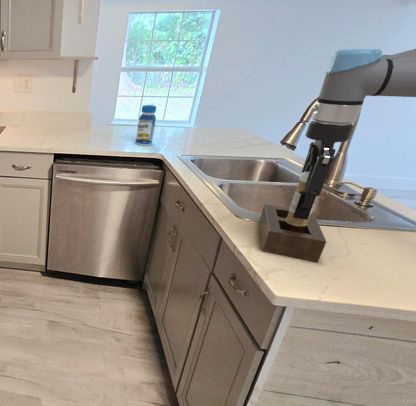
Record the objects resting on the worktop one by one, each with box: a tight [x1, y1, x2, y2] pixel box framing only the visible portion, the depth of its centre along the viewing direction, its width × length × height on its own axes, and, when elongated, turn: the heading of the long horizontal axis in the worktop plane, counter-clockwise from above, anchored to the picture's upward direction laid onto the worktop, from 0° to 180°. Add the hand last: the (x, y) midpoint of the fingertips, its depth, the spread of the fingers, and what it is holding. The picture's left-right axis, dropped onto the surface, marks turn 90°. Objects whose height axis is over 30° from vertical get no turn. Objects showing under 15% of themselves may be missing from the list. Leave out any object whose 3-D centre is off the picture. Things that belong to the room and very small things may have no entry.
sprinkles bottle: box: [285, 171, 319, 227], centre depth 91 cm, size 5×5×13 cm
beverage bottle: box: [135, 104, 157, 146], centre depth 193 cm, size 8×8×20 cm
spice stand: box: [258, 203, 327, 263], centre depth 98 cm, size 11×20×6 cm, turn 147°
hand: (298, 214), depth 92 cm, fingers closed on sprinkles bottle, 4 cm apart
